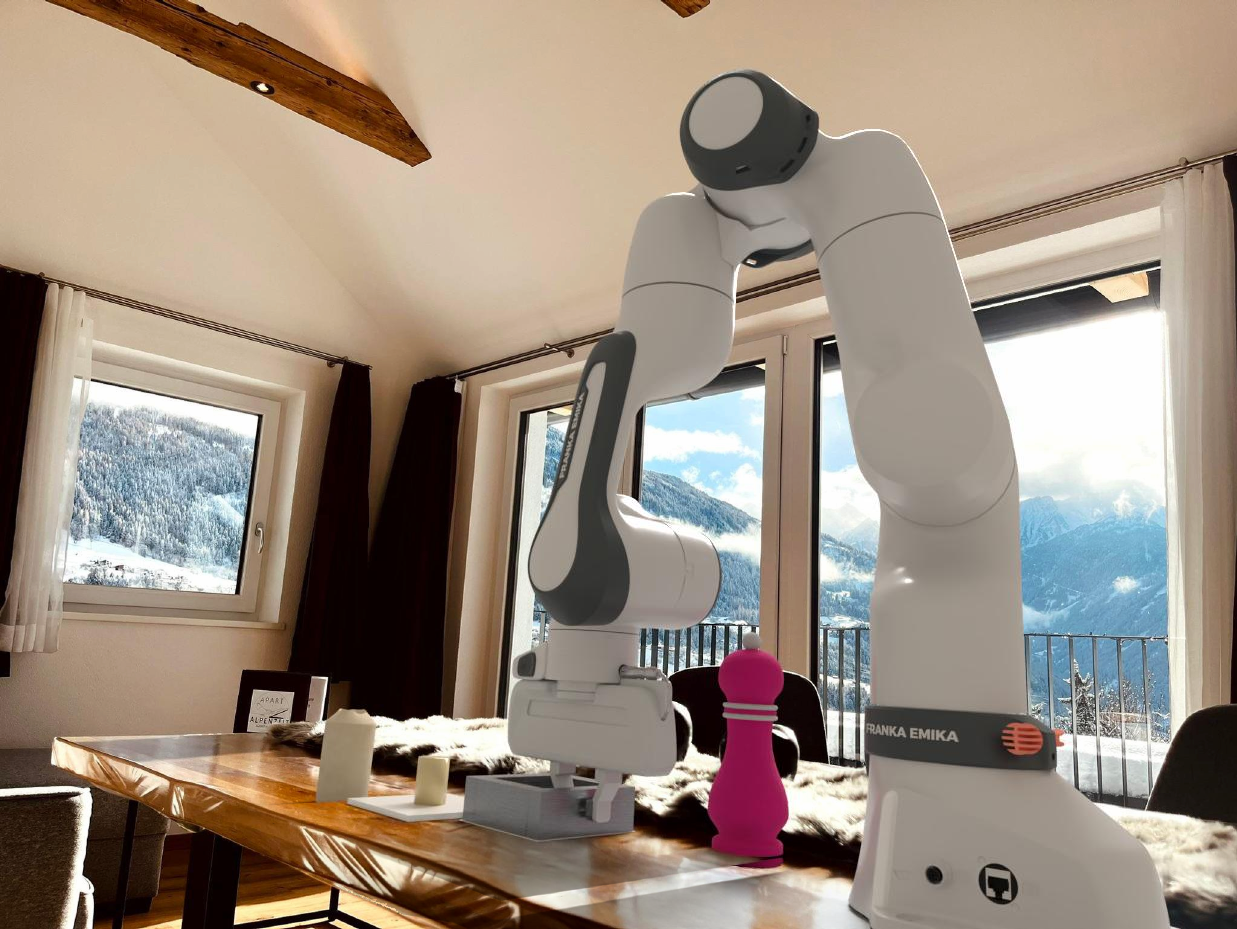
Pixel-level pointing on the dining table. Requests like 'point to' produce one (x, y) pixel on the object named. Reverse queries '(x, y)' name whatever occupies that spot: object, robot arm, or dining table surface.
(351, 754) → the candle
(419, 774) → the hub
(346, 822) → the dining table surface
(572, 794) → the collar
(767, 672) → the pepper mill
